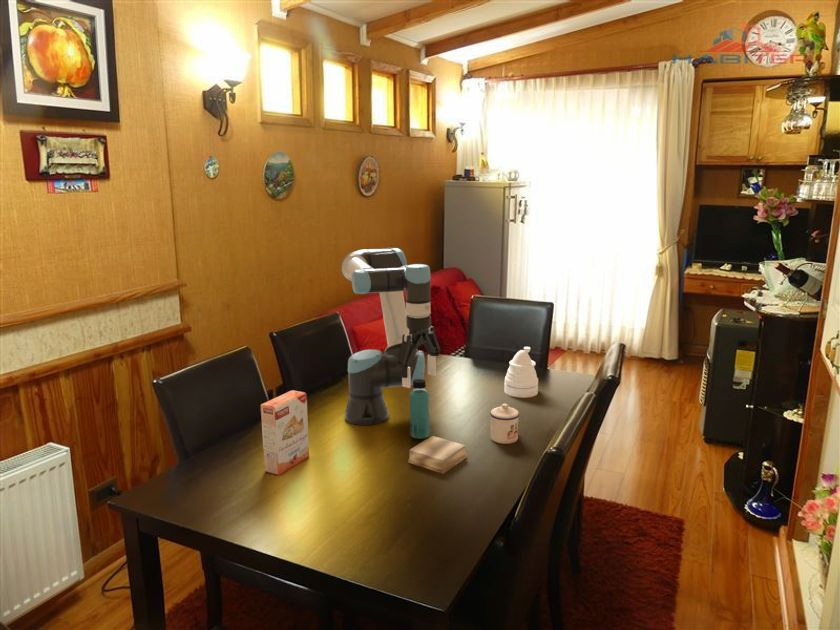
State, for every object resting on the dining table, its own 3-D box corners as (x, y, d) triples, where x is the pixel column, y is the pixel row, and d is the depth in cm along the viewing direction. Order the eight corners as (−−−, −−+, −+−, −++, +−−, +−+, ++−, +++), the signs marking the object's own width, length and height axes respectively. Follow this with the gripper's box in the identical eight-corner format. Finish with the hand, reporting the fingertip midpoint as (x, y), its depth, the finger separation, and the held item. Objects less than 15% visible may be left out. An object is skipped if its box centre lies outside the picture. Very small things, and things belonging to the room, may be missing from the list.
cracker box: (279, 476, 178) (275, 407, 173) (263, 472, 181) (258, 404, 176) (311, 456, 190) (307, 391, 185) (295, 452, 193) (291, 388, 188)
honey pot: (543, 389, 244) (544, 345, 240) (530, 399, 233) (531, 353, 229) (512, 383, 251) (513, 340, 246) (498, 393, 240) (499, 348, 236)
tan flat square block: (408, 462, 185) (407, 450, 184) (432, 447, 195) (432, 435, 194) (443, 474, 178) (443, 461, 177) (466, 457, 188) (466, 445, 187)
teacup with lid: (511, 446, 195) (512, 412, 192) (485, 440, 199) (485, 406, 197) (526, 432, 205) (527, 399, 202) (500, 427, 209) (501, 394, 207)
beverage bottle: (433, 436, 203) (433, 378, 198) (425, 444, 197) (424, 384, 192) (415, 433, 205) (414, 375, 201) (406, 441, 200) (405, 381, 195)
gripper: (403, 325, 180) (404, 394, 184) (451, 309, 199) (451, 372, 204) (383, 321, 184) (385, 390, 189) (431, 306, 204) (432, 368, 208)
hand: (419, 381), depth 196 cm, fingers open, 13 cm apart
